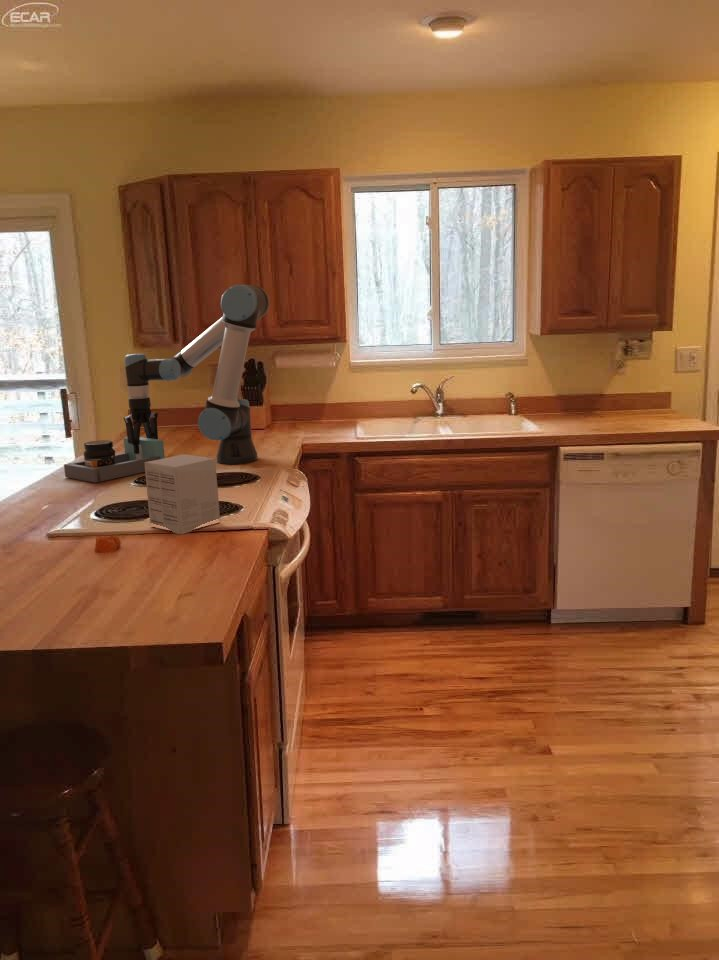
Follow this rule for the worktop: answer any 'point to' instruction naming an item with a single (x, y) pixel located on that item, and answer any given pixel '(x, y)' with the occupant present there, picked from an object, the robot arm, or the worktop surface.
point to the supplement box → (182, 492)
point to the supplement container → (99, 453)
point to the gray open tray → (118, 462)
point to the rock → (107, 544)
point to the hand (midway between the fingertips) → (145, 460)
